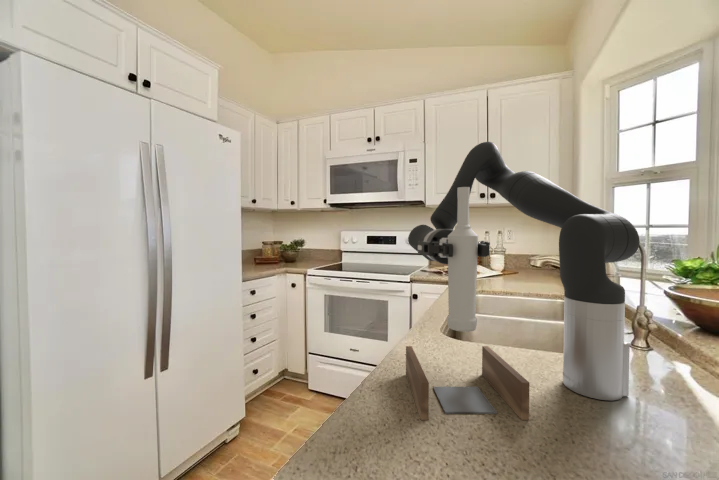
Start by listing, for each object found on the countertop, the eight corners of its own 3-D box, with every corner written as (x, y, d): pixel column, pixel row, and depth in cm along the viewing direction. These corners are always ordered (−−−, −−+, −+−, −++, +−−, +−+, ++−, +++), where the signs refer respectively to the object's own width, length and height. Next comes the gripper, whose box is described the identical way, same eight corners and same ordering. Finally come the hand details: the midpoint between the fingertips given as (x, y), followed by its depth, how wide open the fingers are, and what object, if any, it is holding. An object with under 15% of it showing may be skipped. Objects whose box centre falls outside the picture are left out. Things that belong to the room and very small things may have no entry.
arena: (487, 374, 66) (488, 346, 66) (528, 419, 50) (529, 382, 50) (405, 374, 66) (406, 346, 66) (421, 420, 50) (421, 382, 50)
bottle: (479, 333, 54) (481, 185, 53) (447, 330, 55) (449, 186, 54) (474, 324, 59) (476, 189, 58) (446, 322, 60) (447, 189, 59)
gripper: (410, 228, 70) (425, 228, 53) (474, 229, 70) (510, 228, 53) (410, 262, 71) (425, 272, 54) (474, 262, 71) (509, 272, 54)
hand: (467, 250), depth 54 cm, fingers closed on bottle, 5 cm apart
